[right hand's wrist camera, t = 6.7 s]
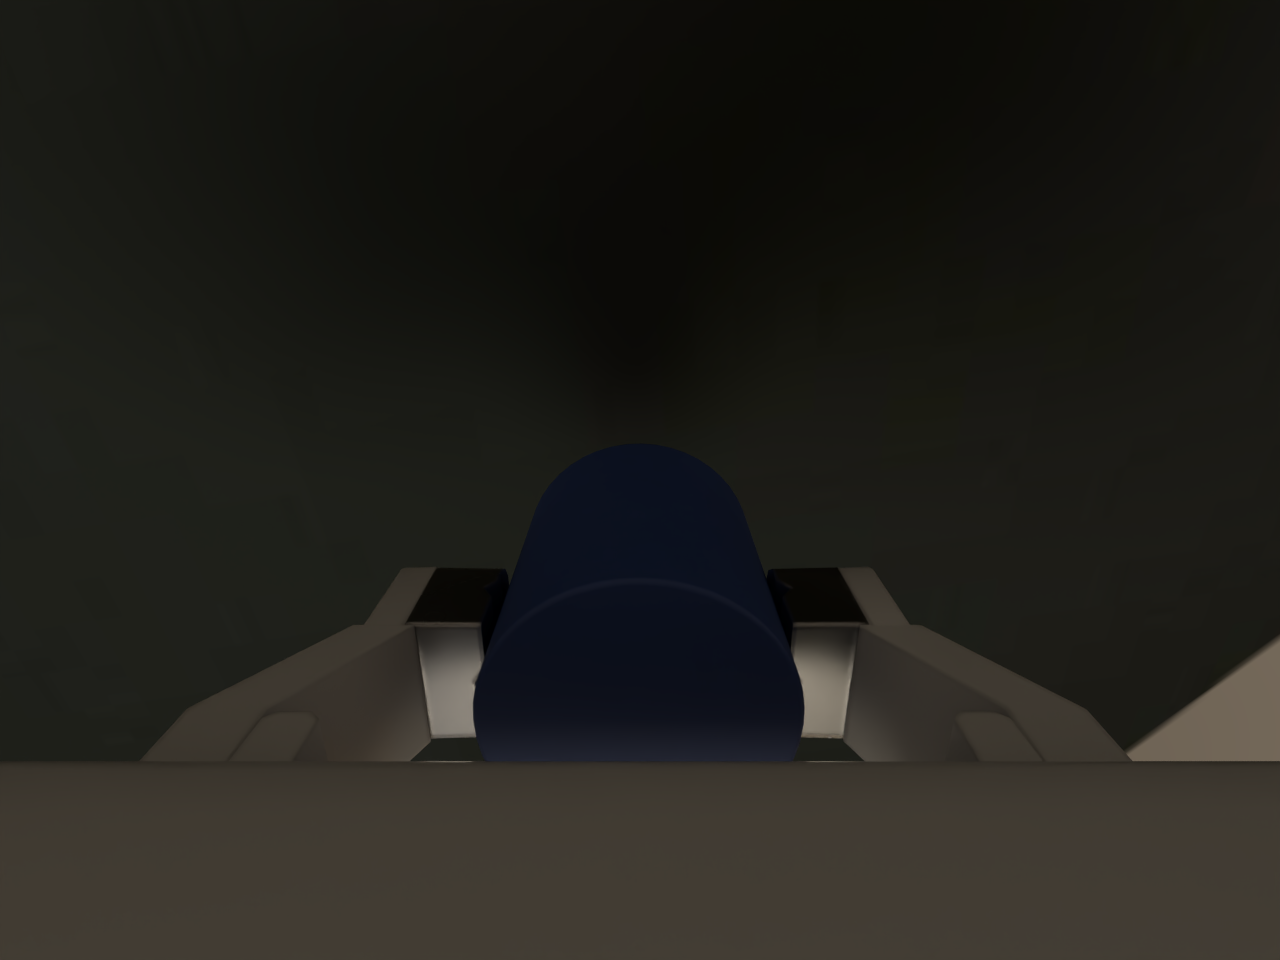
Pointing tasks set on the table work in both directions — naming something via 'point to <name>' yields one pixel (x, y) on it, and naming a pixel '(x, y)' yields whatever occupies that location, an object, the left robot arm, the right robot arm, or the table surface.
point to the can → (638, 625)
